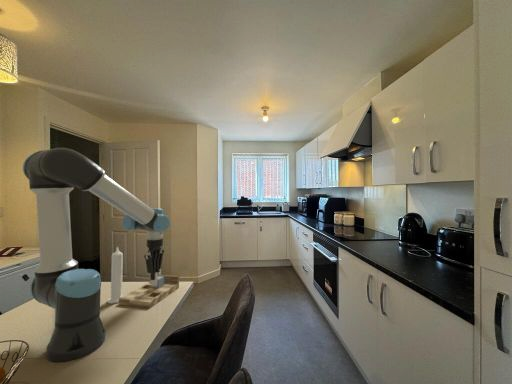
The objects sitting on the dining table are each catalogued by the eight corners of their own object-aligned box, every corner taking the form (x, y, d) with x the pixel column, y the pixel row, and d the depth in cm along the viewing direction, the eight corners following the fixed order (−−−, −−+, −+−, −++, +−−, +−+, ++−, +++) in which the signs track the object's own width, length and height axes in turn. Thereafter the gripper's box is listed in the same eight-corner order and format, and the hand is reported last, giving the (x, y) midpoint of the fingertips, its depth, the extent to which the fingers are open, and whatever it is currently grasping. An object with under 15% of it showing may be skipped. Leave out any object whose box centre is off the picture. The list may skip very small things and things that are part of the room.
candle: (119, 303, 105) (120, 248, 106) (103, 303, 105) (105, 248, 106) (128, 297, 112) (129, 245, 113) (113, 296, 112) (114, 245, 113)
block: (158, 288, 117) (158, 279, 117) (150, 287, 117) (151, 278, 118) (164, 285, 121) (164, 276, 121) (156, 284, 122) (156, 275, 122)
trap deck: (149, 308, 101) (150, 294, 101) (118, 304, 104) (119, 291, 104) (178, 287, 125) (179, 276, 125) (152, 285, 128) (152, 274, 128)
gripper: (153, 241, 110) (152, 291, 109) (168, 236, 123) (168, 281, 122) (139, 240, 111) (138, 289, 111) (156, 236, 124) (155, 280, 123)
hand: (154, 285), depth 116 cm, fingers closed
